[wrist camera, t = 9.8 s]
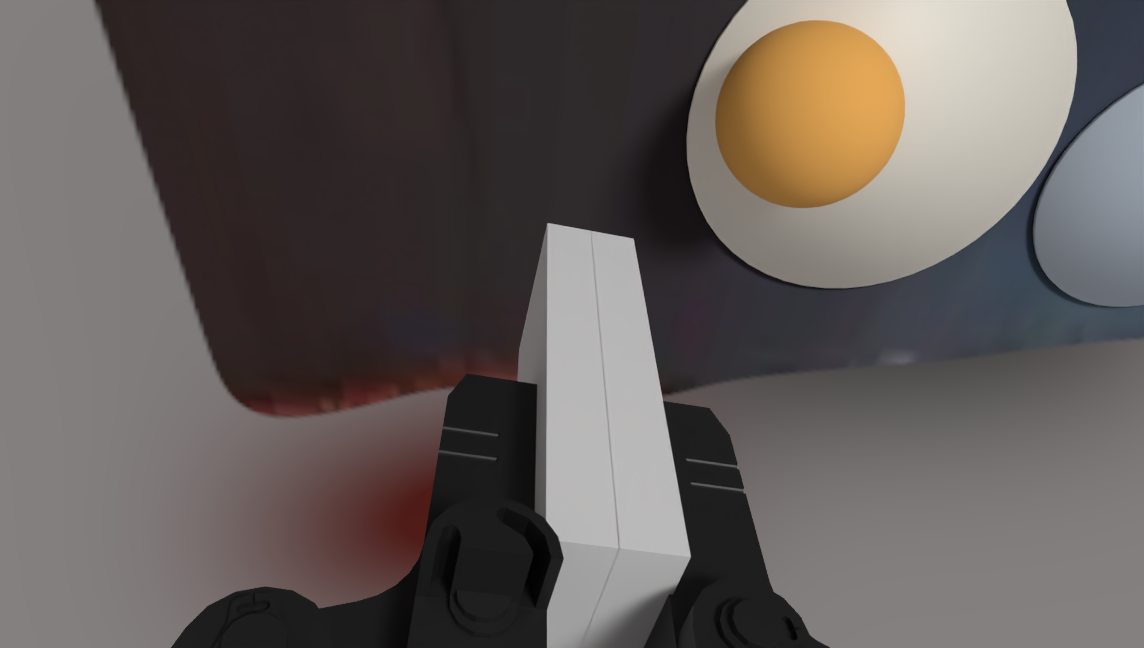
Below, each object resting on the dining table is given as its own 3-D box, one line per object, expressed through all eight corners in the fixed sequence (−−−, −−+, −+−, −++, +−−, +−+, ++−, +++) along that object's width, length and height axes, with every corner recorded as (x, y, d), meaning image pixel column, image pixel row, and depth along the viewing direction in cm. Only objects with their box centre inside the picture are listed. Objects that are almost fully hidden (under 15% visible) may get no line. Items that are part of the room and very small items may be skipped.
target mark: (1159, -30, 24) (1163, -29, 24) (952, 309, 31) (954, 312, 31) (764, -133, 22) (765, -132, 22) (643, 254, 29) (643, 256, 29)
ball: (692, 17, 22) (772, 8, 26) (674, 205, 24) (749, 170, 28) (892, 36, 19) (946, 23, 23) (848, 247, 21) (904, 202, 25)
